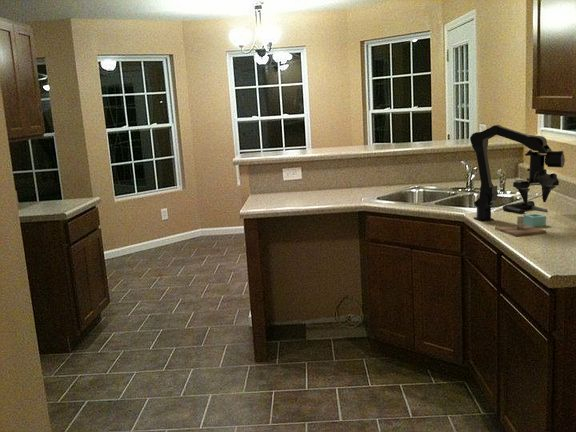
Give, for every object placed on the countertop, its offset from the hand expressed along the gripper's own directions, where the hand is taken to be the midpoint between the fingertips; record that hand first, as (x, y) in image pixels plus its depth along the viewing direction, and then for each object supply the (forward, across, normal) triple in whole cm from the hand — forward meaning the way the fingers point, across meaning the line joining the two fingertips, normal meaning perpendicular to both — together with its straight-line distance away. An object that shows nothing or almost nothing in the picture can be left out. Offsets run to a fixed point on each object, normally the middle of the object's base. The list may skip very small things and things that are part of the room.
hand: (535, 203), depth 251 cm
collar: (+9, 0, 0) cm, 9 cm away
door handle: (+10, +18, +28) cm, 34 cm away
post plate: (+9, -13, -8) cm, 18 cm away
